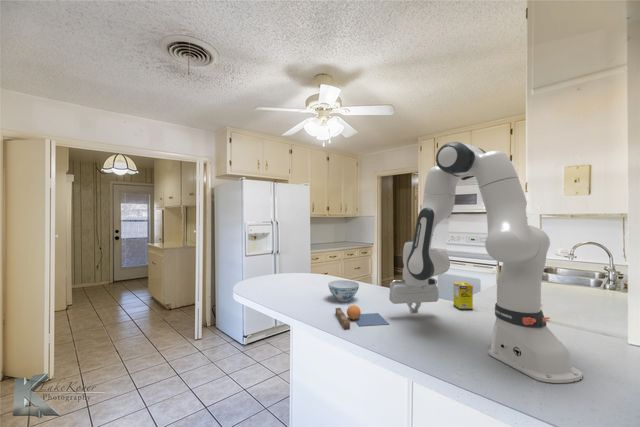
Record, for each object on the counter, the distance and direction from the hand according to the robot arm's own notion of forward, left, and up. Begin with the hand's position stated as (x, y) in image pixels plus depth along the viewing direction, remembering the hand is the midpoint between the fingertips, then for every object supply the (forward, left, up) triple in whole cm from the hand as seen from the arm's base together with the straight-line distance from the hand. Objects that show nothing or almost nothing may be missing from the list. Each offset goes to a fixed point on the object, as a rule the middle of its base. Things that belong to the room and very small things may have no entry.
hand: (413, 313), depth 118 cm
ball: (+1, +25, +1) cm, 25 cm away
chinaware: (+27, +23, -2) cm, 35 cm away
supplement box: (+7, -27, -2) cm, 28 cm away
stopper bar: (0, +30, -2) cm, 30 cm away
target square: (0, +19, -2) cm, 19 cm away
